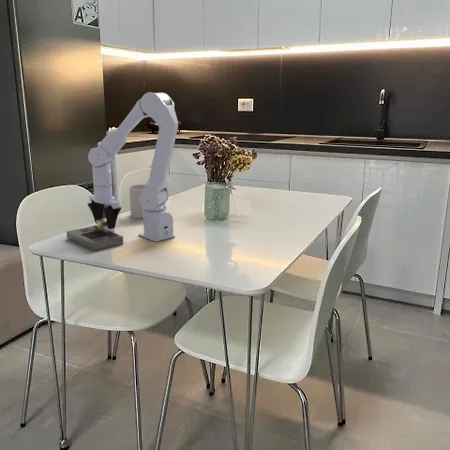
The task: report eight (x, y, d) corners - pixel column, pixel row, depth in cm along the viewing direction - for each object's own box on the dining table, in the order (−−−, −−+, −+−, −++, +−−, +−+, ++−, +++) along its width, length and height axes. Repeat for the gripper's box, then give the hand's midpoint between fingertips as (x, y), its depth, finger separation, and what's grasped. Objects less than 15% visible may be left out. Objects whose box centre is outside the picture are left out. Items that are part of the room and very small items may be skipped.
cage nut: (115, 231, 150) (114, 219, 149) (102, 234, 147) (102, 222, 146) (108, 229, 152) (108, 217, 151) (96, 231, 149) (95, 220, 148)
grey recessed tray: (123, 243, 137) (122, 236, 137) (93, 251, 130) (92, 243, 130) (96, 232, 148) (95, 225, 147) (67, 238, 141) (66, 231, 141)
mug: (125, 216, 168) (124, 187, 165) (141, 211, 175) (140, 183, 172) (151, 221, 162) (150, 191, 159) (165, 216, 169) (165, 187, 166)
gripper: (126, 186, 143) (128, 228, 147) (101, 180, 153) (104, 219, 157) (106, 189, 138) (109, 232, 142) (82, 182, 148) (85, 223, 152)
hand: (105, 225), depth 149 cm, fingers open, 7 cm apart
